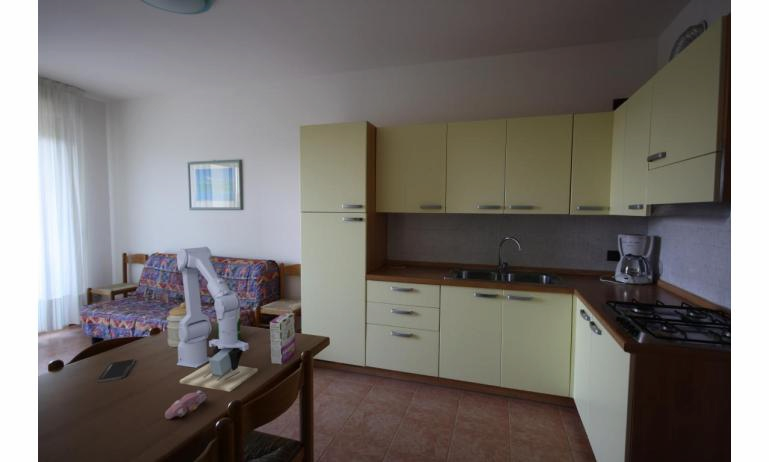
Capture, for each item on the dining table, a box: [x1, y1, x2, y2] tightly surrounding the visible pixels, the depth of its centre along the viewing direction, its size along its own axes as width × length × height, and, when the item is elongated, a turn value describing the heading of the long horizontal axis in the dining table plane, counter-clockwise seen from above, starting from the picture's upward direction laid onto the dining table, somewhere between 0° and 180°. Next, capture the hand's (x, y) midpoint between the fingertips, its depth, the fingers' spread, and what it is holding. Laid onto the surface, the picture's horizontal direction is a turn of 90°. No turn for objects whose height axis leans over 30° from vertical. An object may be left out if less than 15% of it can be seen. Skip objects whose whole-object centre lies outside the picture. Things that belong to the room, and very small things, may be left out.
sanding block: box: [208, 348, 233, 377], centre depth 113 cm, size 4×8×6 cm, turn 165°
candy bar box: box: [269, 312, 297, 365], centre depth 131 cm, size 11×5×16 cm, turn 168°
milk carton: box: [216, 299, 242, 341], centre depth 147 cm, size 9×9×20 cm
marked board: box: [179, 363, 258, 392], centre depth 116 cm, size 20×14×1 cm
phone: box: [97, 358, 136, 383], centre depth 121 cm, size 8×1×15 cm
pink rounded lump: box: [164, 389, 208, 420], centre depth 96 cm, size 10×5×7 cm, turn 150°
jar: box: [166, 301, 201, 348], centre depth 147 cm, size 13×13×18 cm
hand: (229, 368), depth 115 cm, fingers closed on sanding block, 4 cm apart
